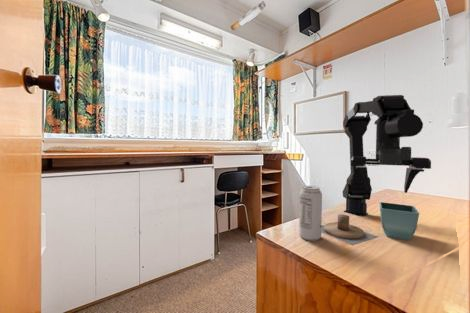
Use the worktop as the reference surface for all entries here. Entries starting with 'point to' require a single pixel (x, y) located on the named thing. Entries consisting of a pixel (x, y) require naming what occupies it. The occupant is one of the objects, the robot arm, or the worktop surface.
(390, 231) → the flower pot
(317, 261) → the worktop surface
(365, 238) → the mat
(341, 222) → the lid
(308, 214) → the energy drink can
